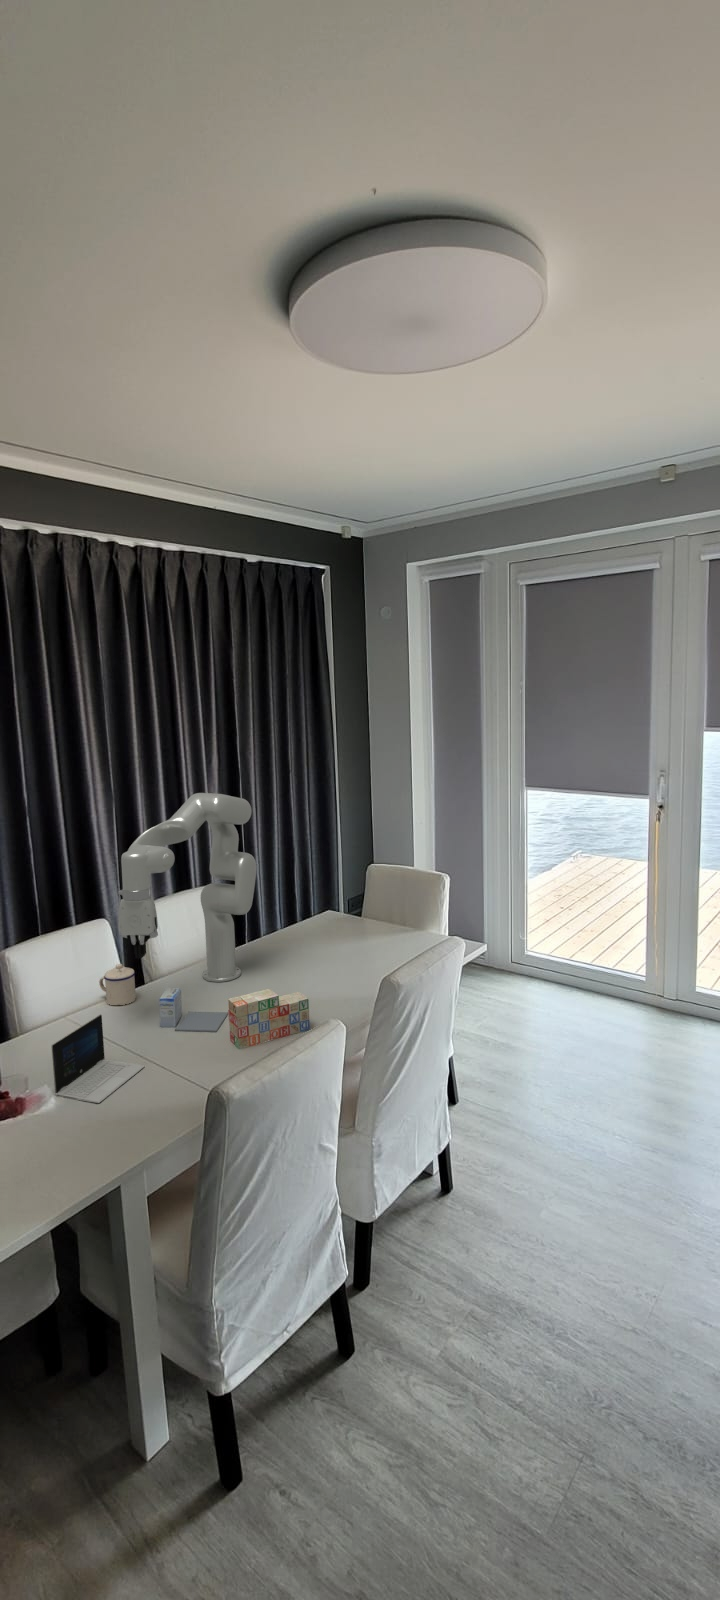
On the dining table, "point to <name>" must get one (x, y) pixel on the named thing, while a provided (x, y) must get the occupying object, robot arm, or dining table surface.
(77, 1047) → the laptop
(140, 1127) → the dining table surface
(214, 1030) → the mat
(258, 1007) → the stack of blocks
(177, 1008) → the medicine box
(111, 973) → the teacup with lid
